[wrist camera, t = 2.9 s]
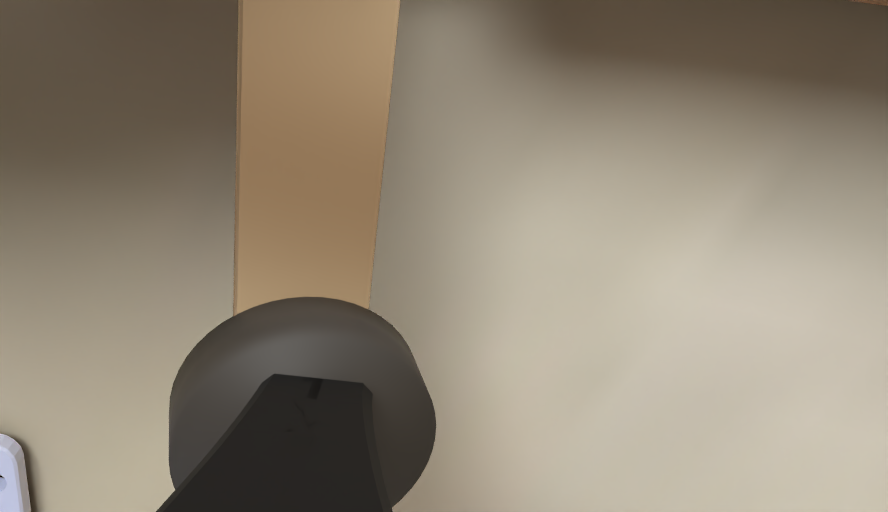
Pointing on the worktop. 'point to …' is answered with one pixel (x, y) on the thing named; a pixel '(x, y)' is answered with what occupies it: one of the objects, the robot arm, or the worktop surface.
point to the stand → (873, 2)
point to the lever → (308, 234)
